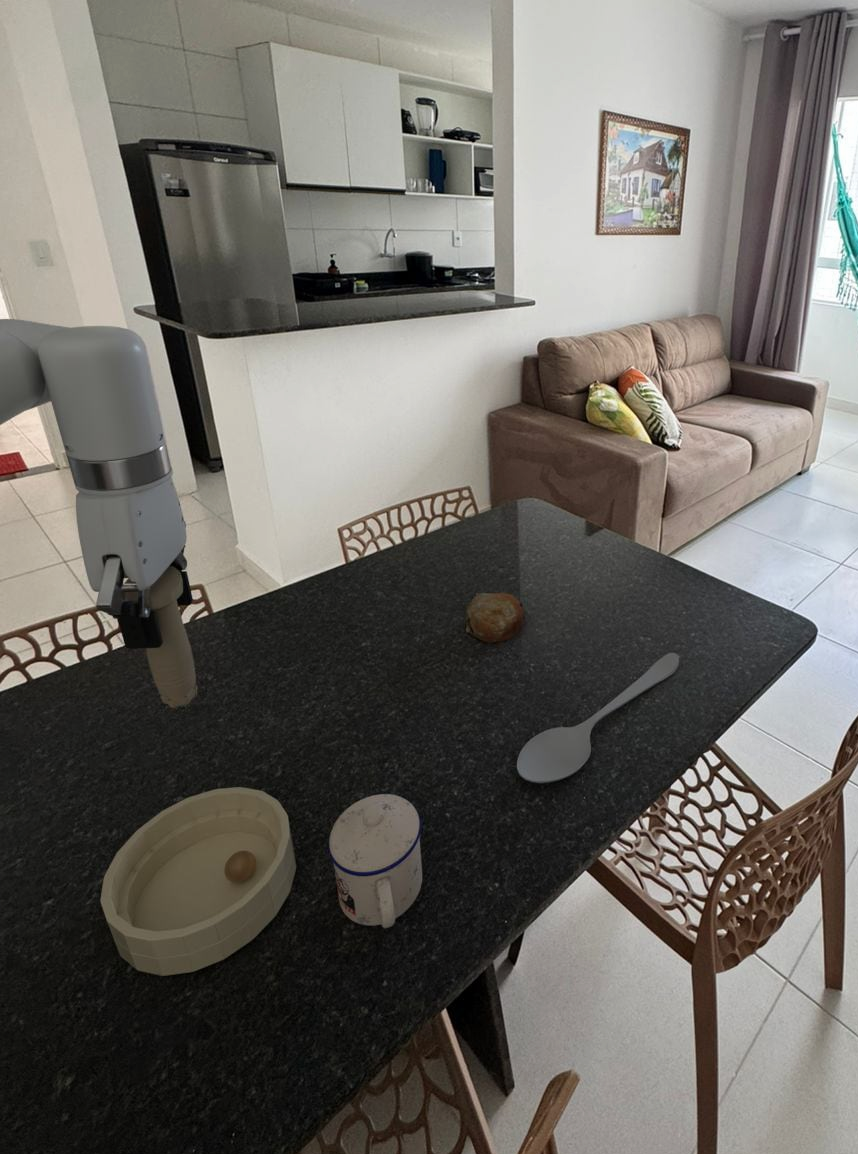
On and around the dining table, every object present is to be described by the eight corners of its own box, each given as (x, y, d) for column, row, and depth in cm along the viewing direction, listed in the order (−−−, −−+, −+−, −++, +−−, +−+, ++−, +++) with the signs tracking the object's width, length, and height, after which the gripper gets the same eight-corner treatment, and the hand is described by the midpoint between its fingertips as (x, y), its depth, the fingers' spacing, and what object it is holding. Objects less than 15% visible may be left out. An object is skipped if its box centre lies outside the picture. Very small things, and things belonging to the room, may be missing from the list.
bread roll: (464, 634, 118) (446, 607, 113) (508, 596, 122) (492, 568, 117) (495, 664, 111) (477, 636, 106) (540, 622, 115) (524, 594, 110)
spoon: (543, 808, 82) (544, 793, 81) (499, 772, 86) (500, 757, 85) (693, 678, 107) (696, 665, 106) (654, 655, 112) (656, 642, 111)
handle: (152, 725, 68) (120, 605, 62) (156, 686, 74) (126, 571, 67) (206, 711, 71) (179, 594, 65) (206, 674, 76) (181, 562, 70)
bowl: (81, 991, 61) (64, 951, 59) (159, 832, 76) (147, 794, 74) (272, 965, 64) (263, 926, 62) (311, 817, 79) (305, 780, 77)
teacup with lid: (333, 865, 74) (321, 790, 69) (416, 837, 77) (410, 765, 73) (343, 973, 64) (330, 895, 59) (438, 936, 68) (433, 859, 63)
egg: (246, 886, 72) (220, 891, 69) (242, 858, 73) (216, 862, 71) (264, 870, 71) (238, 875, 69) (259, 843, 73) (233, 846, 70)
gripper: (124, 431, 68) (159, 579, 75) (15, 507, 52) (73, 684, 60) (203, 432, 69) (230, 577, 77) (119, 506, 54) (163, 680, 61)
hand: (161, 623), depth 68 cm, fingers closed on handle, 6 cm apart
